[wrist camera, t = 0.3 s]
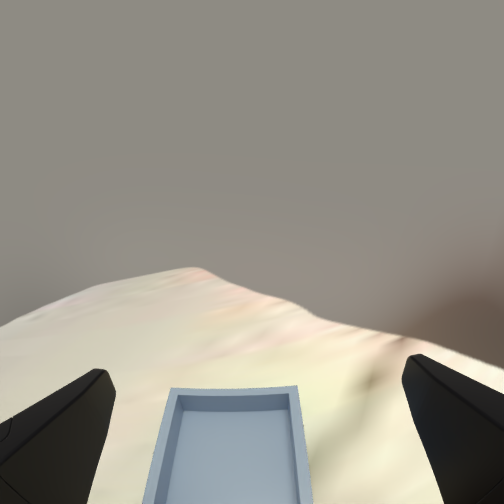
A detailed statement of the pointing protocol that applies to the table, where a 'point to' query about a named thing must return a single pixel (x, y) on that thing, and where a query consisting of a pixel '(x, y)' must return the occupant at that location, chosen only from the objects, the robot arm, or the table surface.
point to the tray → (230, 448)
